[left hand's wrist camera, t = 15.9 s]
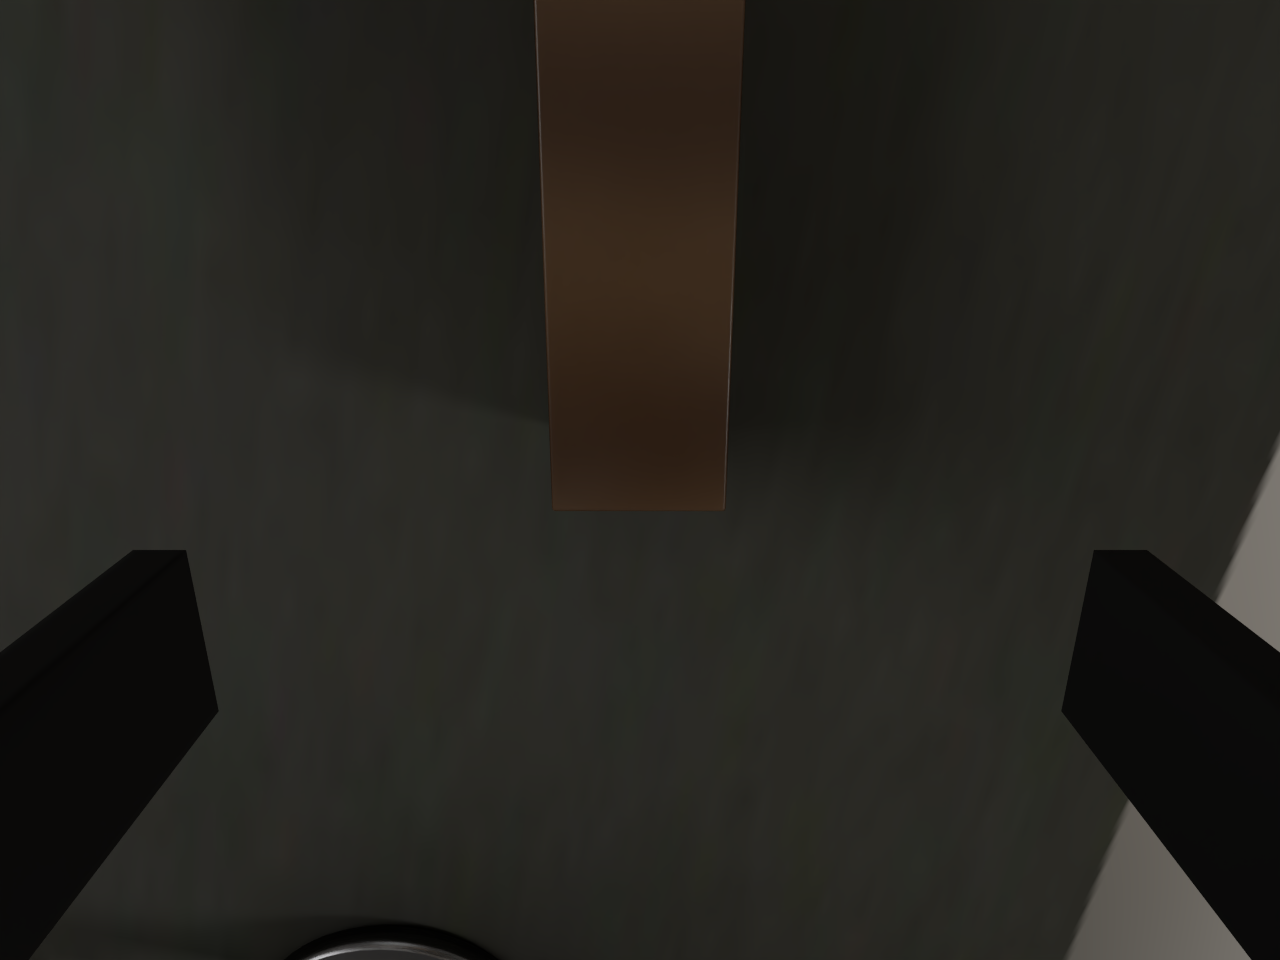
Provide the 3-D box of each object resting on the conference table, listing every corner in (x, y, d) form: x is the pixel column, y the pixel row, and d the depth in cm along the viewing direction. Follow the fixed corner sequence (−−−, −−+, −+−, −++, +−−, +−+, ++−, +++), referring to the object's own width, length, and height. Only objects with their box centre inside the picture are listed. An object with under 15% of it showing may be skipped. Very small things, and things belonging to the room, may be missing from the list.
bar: (706, 431, 34) (725, 512, 27) (572, 431, 34) (552, 512, 27) (727, -306, 26) (765, -506, 18) (552, -307, 26) (514, -507, 18)
